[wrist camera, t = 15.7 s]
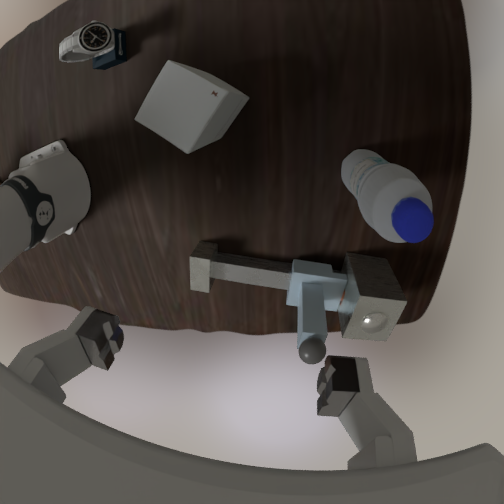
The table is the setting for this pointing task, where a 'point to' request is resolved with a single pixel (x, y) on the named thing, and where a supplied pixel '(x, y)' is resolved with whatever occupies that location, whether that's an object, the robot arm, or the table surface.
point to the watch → (95, 46)
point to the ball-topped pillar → (314, 304)
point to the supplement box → (190, 106)
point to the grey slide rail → (354, 266)
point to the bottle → (388, 197)
